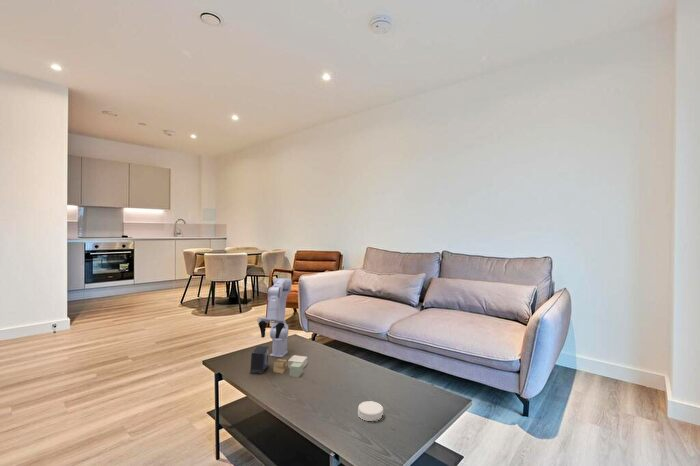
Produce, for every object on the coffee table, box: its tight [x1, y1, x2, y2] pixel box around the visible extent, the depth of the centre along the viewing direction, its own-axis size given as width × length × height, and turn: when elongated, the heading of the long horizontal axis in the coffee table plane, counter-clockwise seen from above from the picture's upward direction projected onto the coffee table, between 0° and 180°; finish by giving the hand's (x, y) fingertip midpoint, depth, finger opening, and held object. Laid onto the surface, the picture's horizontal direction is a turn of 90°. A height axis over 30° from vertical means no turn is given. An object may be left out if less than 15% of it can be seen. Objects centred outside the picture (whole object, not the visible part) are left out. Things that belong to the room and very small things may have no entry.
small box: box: [249, 345, 270, 375], centre depth 169 cm, size 11×6×10 cm, turn 179°
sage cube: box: [289, 362, 304, 378], centre depth 165 cm, size 5×5×5 cm
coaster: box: [357, 400, 384, 421], centre depth 130 cm, size 10×10×4 cm
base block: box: [287, 354, 308, 369], centre depth 176 cm, size 8×8×4 cm
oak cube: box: [273, 358, 288, 374], centre depth 168 cm, size 5×5×5 cm
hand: (270, 338), depth 164 cm, fingers open, 7 cm apart
